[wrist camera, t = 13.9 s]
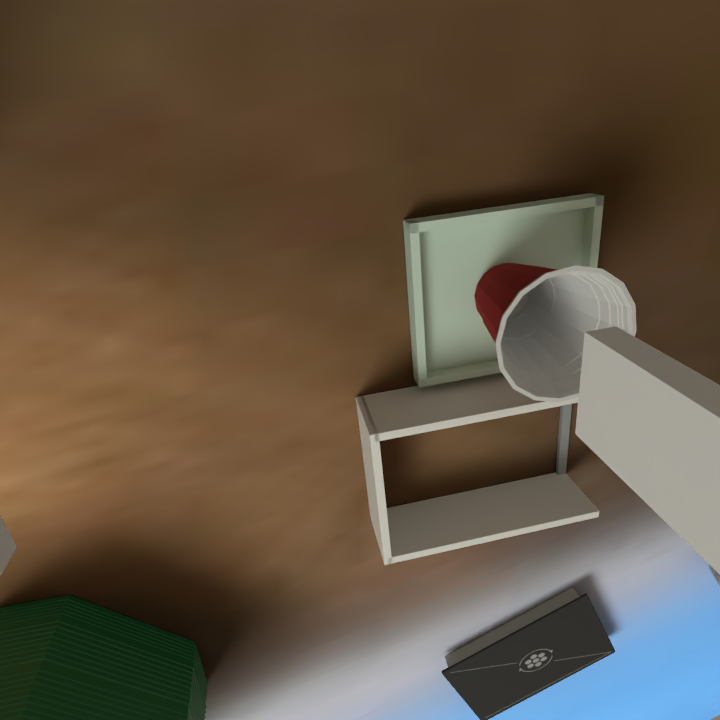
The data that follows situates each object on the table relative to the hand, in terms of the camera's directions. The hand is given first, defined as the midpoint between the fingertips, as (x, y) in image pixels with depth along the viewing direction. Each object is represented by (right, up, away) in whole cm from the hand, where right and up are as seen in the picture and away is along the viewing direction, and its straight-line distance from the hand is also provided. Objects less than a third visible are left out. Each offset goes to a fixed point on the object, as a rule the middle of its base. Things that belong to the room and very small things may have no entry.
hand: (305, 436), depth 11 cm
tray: (+14, +8, +38) cm, 41 cm away
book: (+24, -38, +62) cm, 77 cm away
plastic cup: (+14, +8, +38) cm, 41 cm away
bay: (+13, -7, +45) cm, 47 cm away
